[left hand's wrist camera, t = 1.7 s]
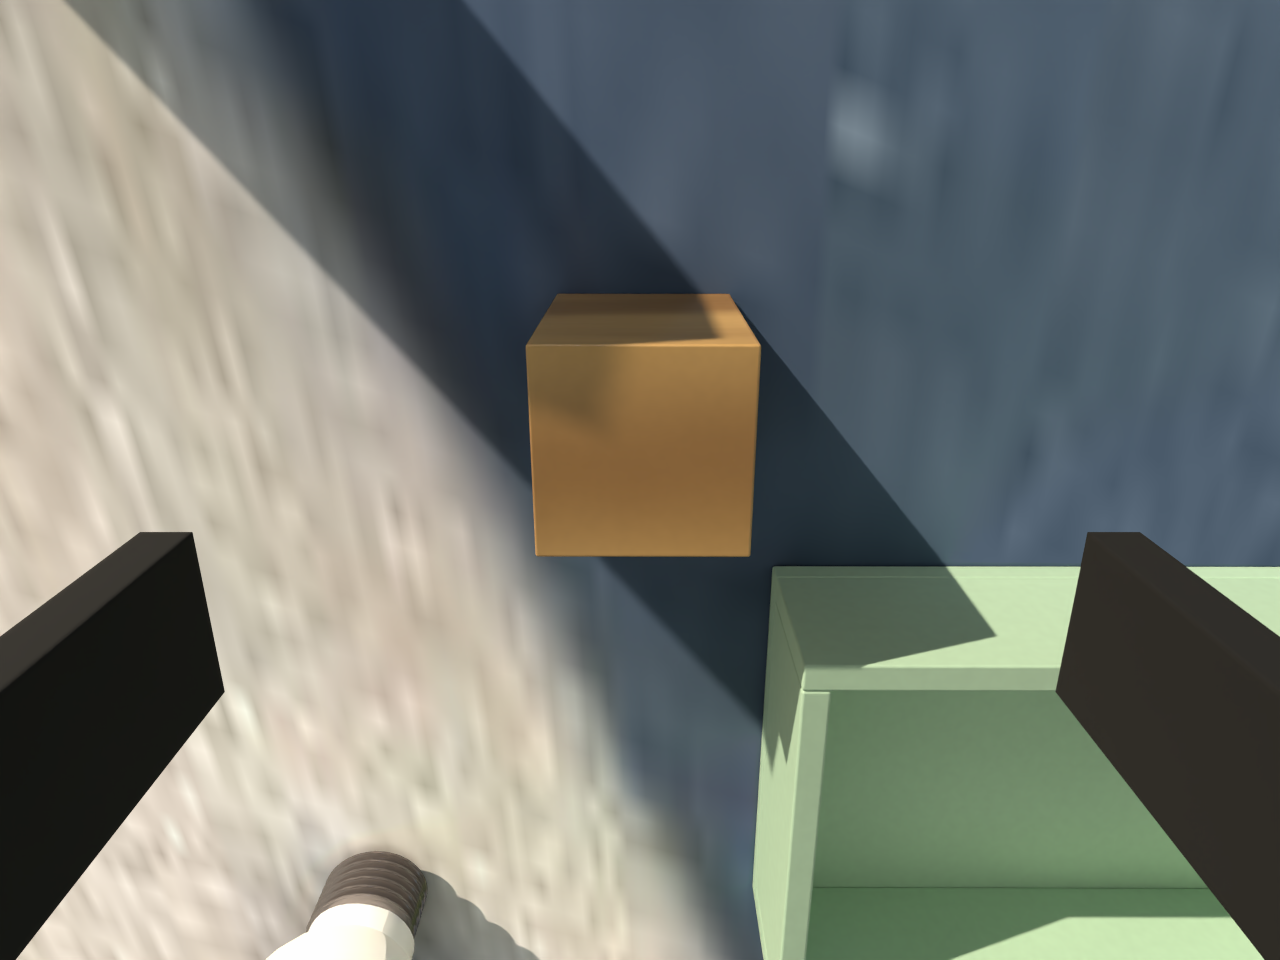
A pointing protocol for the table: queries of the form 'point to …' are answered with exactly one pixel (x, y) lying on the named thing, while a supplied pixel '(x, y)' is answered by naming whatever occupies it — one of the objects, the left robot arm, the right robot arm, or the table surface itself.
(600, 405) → the beech block
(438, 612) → the table surface
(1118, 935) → the sage bin
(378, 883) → the light bulb
